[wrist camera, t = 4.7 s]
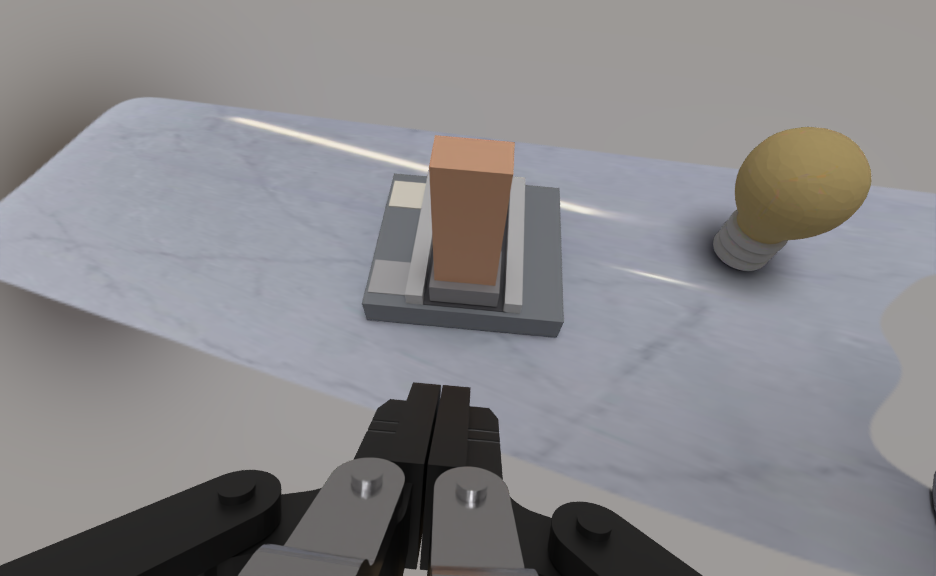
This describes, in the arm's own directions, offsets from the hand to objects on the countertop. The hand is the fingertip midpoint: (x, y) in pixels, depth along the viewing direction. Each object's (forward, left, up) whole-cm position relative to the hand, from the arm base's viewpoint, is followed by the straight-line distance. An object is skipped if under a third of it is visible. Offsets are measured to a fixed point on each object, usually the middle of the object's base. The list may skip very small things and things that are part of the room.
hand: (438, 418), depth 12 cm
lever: (0, -12, -11) cm, 16 cm away
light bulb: (-19, -18, -14) cm, 29 cm away
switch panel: (0, -15, -14) cm, 20 cm away
